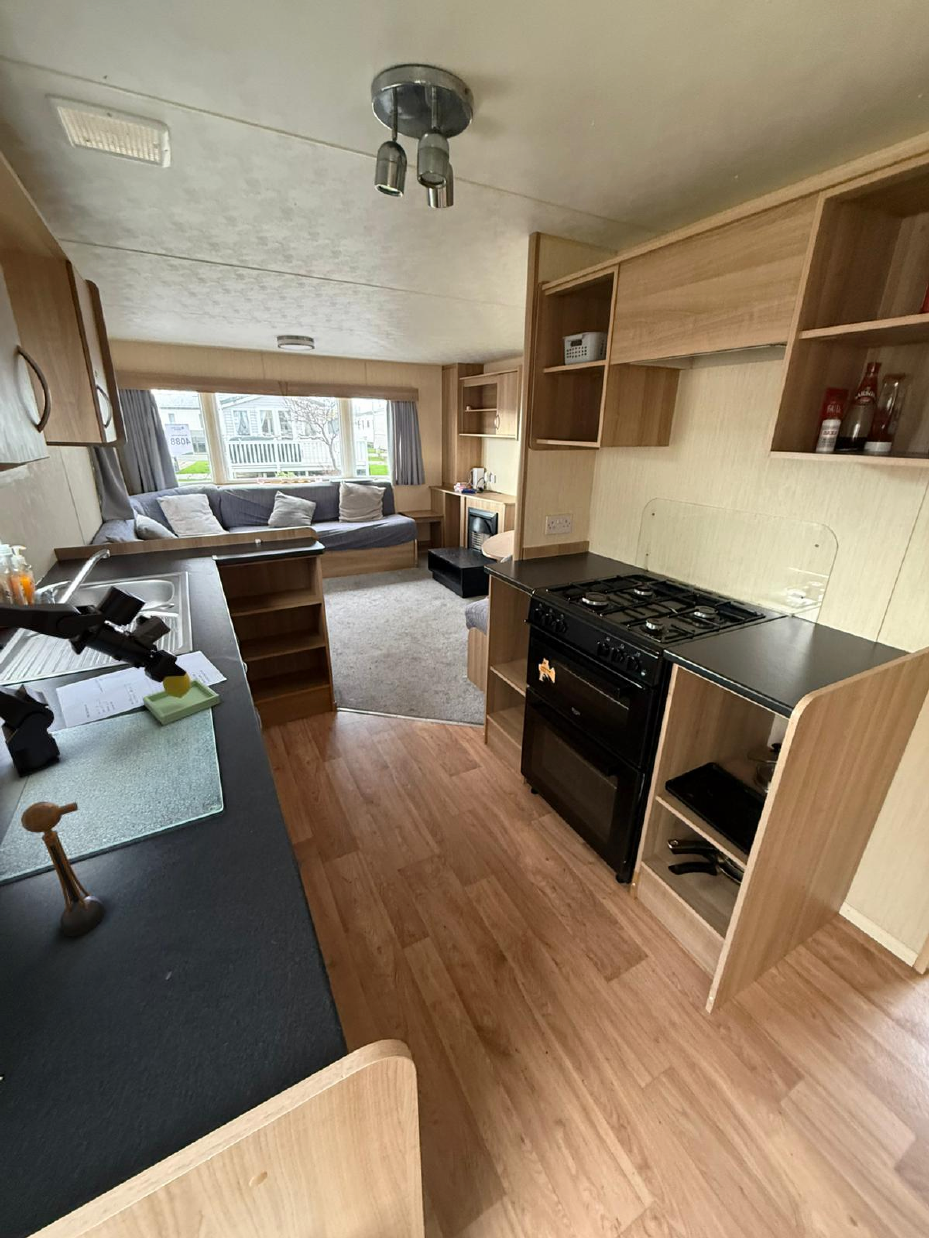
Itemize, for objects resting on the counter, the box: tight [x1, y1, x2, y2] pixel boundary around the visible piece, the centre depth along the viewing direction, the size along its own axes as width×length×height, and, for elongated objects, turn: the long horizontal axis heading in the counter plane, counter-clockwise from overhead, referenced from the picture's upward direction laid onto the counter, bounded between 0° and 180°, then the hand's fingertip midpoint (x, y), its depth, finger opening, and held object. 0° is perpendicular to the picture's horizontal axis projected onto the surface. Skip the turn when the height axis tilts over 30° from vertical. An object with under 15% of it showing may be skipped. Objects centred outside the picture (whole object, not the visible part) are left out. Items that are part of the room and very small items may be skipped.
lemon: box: [162, 672, 191, 698], centre depth 116 cm, size 6×6×8 cm
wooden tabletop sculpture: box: [20, 801, 107, 937], centre depth 65 cm, size 6×5×20 cm
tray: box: [142, 678, 221, 726], centre depth 120 cm, size 13×13×2 cm
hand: (180, 670), depth 116 cm, fingers closed on lemon, 4 cm apart
